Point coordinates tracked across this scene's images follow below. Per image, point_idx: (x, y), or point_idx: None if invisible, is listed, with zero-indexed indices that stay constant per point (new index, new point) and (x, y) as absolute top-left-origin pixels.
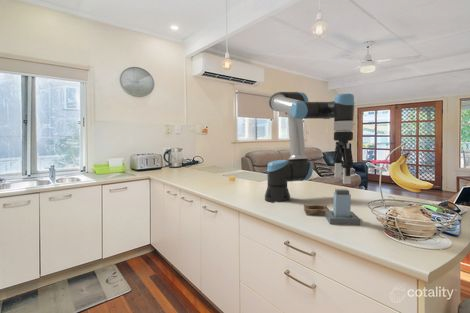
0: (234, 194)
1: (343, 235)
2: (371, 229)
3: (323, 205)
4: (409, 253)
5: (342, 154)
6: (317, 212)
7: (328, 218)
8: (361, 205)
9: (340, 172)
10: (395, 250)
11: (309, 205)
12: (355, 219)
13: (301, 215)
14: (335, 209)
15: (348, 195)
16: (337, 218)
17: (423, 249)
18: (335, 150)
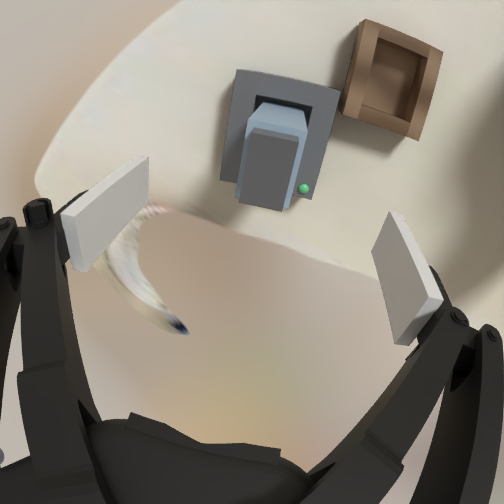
0: None
1: (156, 84)
2: (202, 191)
3: (417, 129)
4: None
5: (44, 357)
6: (353, 63)
7: (270, 74)
8: None
9: (380, 272)
10: (85, 176)
11: (430, 68)
12: (222, 162)
13: (376, 12)
14: (265, 107)
15: (237, 184)
16: (233, 97)
17: None
18: (483, 453)
